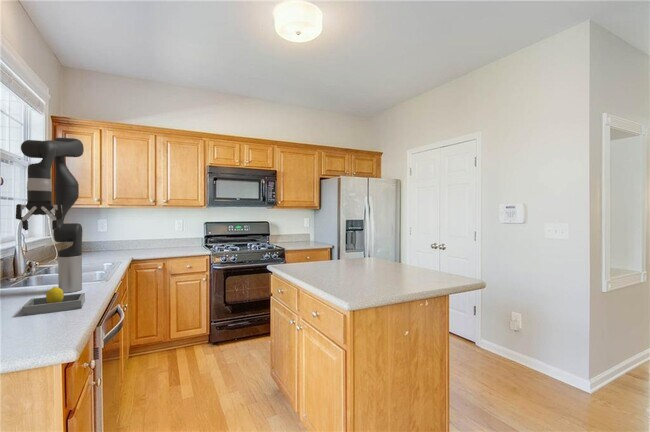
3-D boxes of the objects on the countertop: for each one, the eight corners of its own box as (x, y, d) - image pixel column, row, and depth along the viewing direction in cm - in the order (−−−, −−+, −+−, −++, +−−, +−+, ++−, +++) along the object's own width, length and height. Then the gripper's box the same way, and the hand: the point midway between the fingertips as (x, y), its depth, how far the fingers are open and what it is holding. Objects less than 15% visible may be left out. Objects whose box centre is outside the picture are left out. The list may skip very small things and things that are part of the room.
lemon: (52, 304, 134) (52, 285, 134) (67, 303, 135) (66, 285, 134) (42, 308, 129) (42, 288, 128) (57, 308, 129) (57, 288, 129)
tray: (31, 306, 133) (30, 298, 133) (85, 300, 142) (84, 292, 142) (22, 316, 122) (22, 307, 122) (81, 308, 131) (81, 300, 131)
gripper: (63, 191, 137) (64, 228, 138) (18, 189, 130) (19, 229, 130) (60, 190, 131) (61, 230, 131) (13, 189, 123) (13, 231, 124)
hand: (40, 229), depth 131 cm, fingers open, 8 cm apart
